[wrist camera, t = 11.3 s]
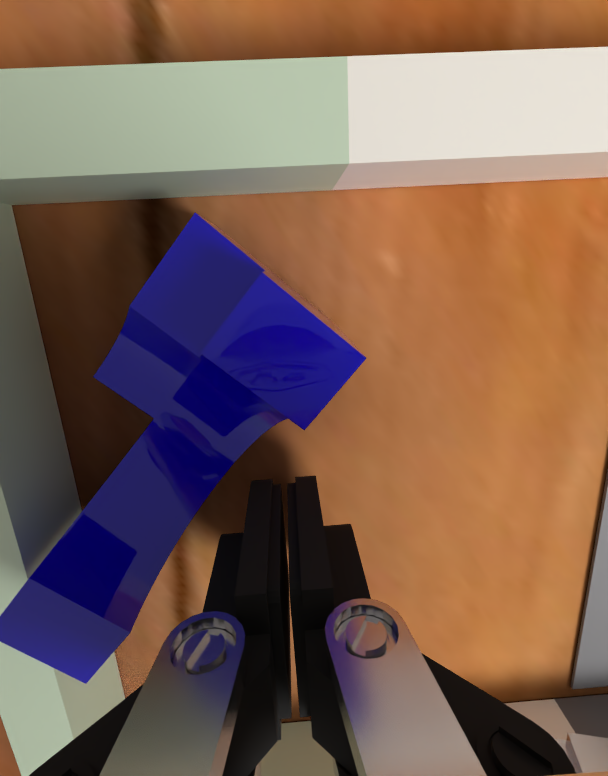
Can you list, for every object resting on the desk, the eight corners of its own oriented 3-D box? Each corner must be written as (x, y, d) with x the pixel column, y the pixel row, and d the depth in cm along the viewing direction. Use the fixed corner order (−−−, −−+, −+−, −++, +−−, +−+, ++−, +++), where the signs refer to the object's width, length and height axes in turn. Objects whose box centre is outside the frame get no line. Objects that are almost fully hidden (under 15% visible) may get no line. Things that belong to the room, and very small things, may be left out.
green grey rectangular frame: (950, 87, 9) (1182, 26, 7) (743, 713, 15) (832, 800, 12) (-81, 129, 9) (-223, 76, 6) (95, 773, 14) (56, 878, 12)
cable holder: (216, 226, 9) (173, 198, 6) (333, 323, 10) (366, 357, 6) (35, 477, 11) (-98, 593, 7) (149, 546, 12) (85, 684, 8)
